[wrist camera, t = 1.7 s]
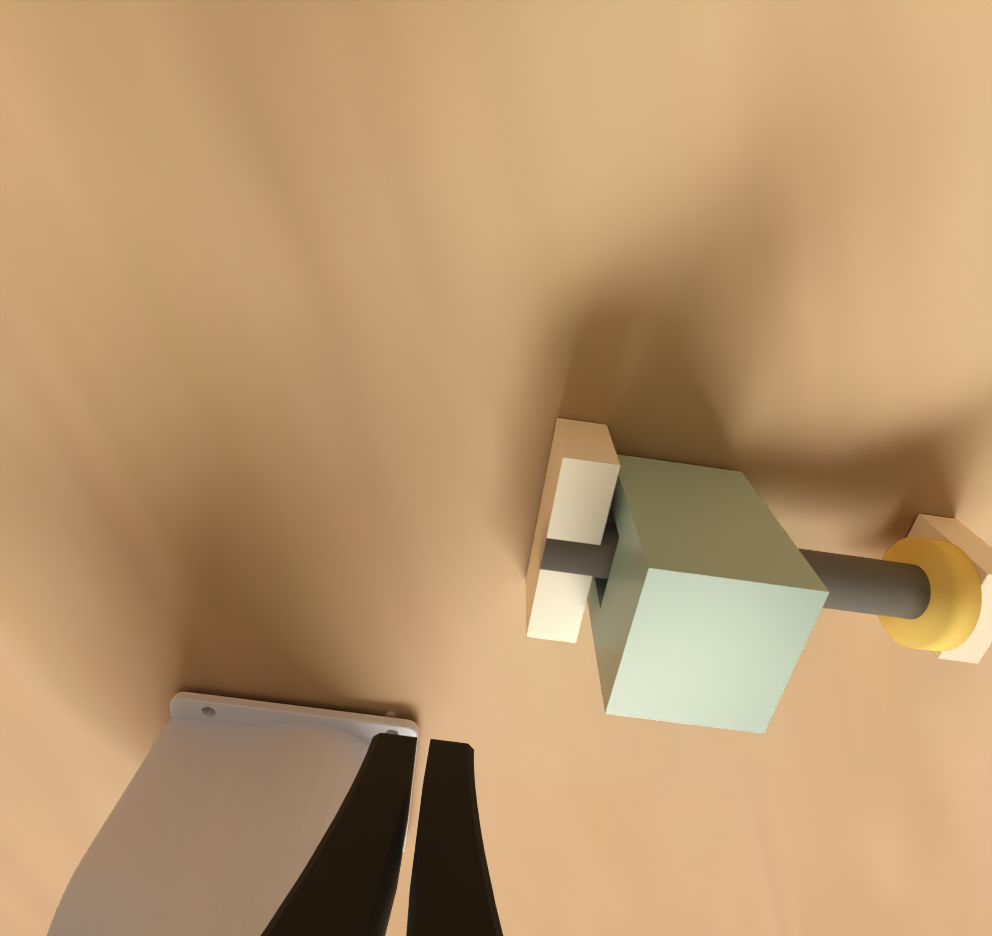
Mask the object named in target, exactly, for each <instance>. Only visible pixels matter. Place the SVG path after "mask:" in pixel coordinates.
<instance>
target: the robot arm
mask: <svg viewBox="0 0 992 936" xmlns="http://www.w3.org/2000/svg"><path fill="white" fill-rule="evenodd" d="M210 707H211V708H210ZM170 713H171V718H170V720H169V722H168V723H167V725H166V726H165V728H164V730H163V731H162V733H161V734H160V736H159V737H158V739H157V741H156V742H155V744H154V745H153V747H152V749H151V750H150V752H149V753H148V755H147V756H146V758H145V760H144V761H143V763H142V764H141V766H140V768H139V769H138V771H137V772H136V774H135V775H134V777H133V779H132V780H131V782H130V783H129V785H128V787H127V788H126V790H125V791H124V793H123V795H122V796H121V798H120V799H119V801H118V802H117V804H116V806H115V807H114V809H113V810H112V812H111V814H110V815H109V817H108V818H107V820H106V821H105V823H104V825H103V826H102V828H101V829H100V831H99V833H98V834H97V836H96V837H95V839H94V841H93V842H92V844H91V845H90V847H89V848H88V850H87V852H86V853H85V855H84V856H83V858H82V860H81V862H80V863H79V865H78V867H77V869H76V870H75V872H74V874H73V876H72V878H71V880H70V882H69V884H68V886H67V888H66V890H65V892H64V894H63V896H62V899H61V901H60V903H59V905H58V908H57V910H56V913H55V915H54V918H53V920H52V923H51V925H50V928H49V931H48V933H47V936H385V934H386V930H387V926H388V922H389V918H390V914H391V910H392V905H393V901H394V897H395V893H396V889H397V884H398V878H399V872H400V866H401V860H402V854H403V852H404V851H405V847H406V840H407V832H408V823H409V814H410V806H411V797H412V788H413V780H414V771H415V762H416V754H417V745H418V736H419V726H418V725H417V724H416V723H415V722H413V721H412V720H408V719H400V718H392V717H384V716H376V715H368V714H360V713H352V712H344V711H336V710H328V709H320V708H312V707H304V706H296V705H288V704H280V703H272V702H264V701H256V700H248V699H240V698H232V697H224V696H216V695H208V694H200V693H192V692H179V693H176V695H175V696H174V697H173V699H172V700H171V702H170ZM392 730H395V731H392ZM406 936H503V933H502V929H501V925H500V921H499V917H498V913H497V908H496V904H495V900H494V895H493V890H492V885H491V880H490V876H489V871H488V866H487V861H486V857H485V851H484V846H483V840H482V834H481V828H480V821H479V814H478V807H477V799H476V790H475V778H474V749H473V748H472V747H471V746H470V745H469V744H467V743H459V742H451V741H443V740H435V739H431V740H430V746H429V752H428V758H427V764H426V770H425V776H424V782H423V789H422V797H421V805H420V813H419V821H418V829H417V837H416V845H415V853H414V860H413V868H412V876H411V884H410V895H409V908H408V921H407V935H406Z"/></svg>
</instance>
